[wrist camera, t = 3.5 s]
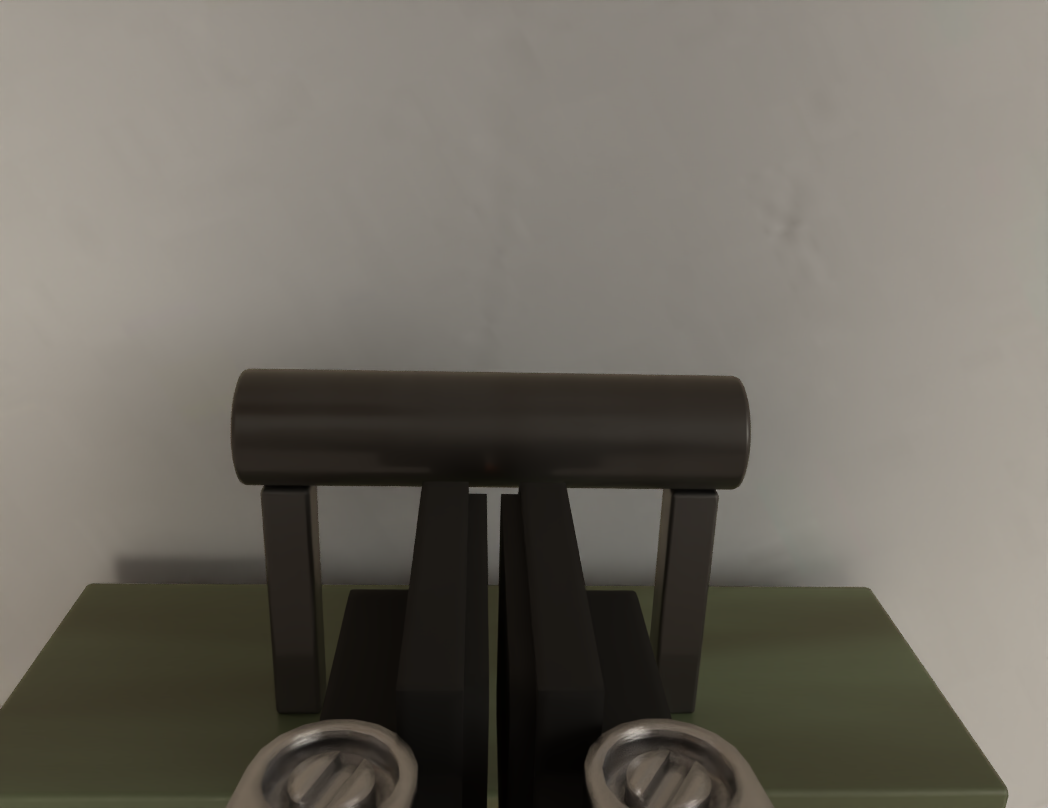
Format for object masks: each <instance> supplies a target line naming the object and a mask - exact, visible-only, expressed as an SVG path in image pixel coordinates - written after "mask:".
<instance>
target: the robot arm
mask: <svg viewBox="0 0 1048 808" xmlns="http://www.w3.org/2000/svg"><path fill="white" fill-rule="evenodd" d="M496 727H497V770H498V808H774V806H773V804H772V803H771V801H770V799H769V798H768V796H767V794H766V792H765V791H764V789H763V787H762V786H761V784H760V782H759V780H758V779H757V777H756V775H755V774H754V772H753V770H752V768H751V767H750V765H749V763H748V762H747V761H746V760H745V759H744V757H743V756H742V755H741V754H740V753H739V751H738V750H737V749H736V748H735V747H734V746H733V745H731V744H730V743H728V742H727V741H726V740H724V739H723V738H721V737H720V736H719V735H717V734H716V733H713V732H711V731H709V730H706V729H704V728H701V727H699V726H697V725H694V724H691V723H686V722H681V721H676V720H672V718H671V714H670V710H669V707H668V703H667V700H666V696H665V692H664V689H663V685H662V682H661V678H660V675H659V671H658V667H657V664H656V660H655V657H654V653H653V649H652V646H651V642H650V639H649V635H648V631H647V628H646V624H645V621H644V617H643V614H642V610H641V606H640V603H639V599H638V597H637V594H636V592H635V591H633V590H586V588H585V583H584V578H583V572H582V567H581V562H580V557H579V551H578V546H577V541H576V535H575V530H574V525H573V519H572V514H571V509H570V504H569V498H568V493H567V488H566V484H565V483H549V482H520V483H519V492H518V494H501V516H500V557H499V599H498V640H497V682H496ZM488 738H489V626H488V553H487V494H469V482H447V481H423V483H422V490H421V498H420V506H419V514H418V521H417V529H416V537H415V545H414V553H413V560H412V568H411V576H410V584H409V589H352V590H350V593H349V596H348V600H347V604H346V608H345V613H344V617H343V621H342V625H341V630H340V634H339V638H338V642H337V647H336V651H335V655H334V660H333V664H332V668H331V672H330V677H329V681H328V685H327V689H326V694H325V698H324V702H323V707H322V711H321V715H320V719H319V722H315V723H310V724H305V725H302V726H300V727H298V728H295V729H293V730H290V731H288V732H286V733H283V734H281V735H280V736H278V737H277V738H275V739H274V740H273V741H271V742H270V743H269V744H267V745H266V746H264V747H263V748H262V749H261V750H260V751H259V752H258V754H257V755H256V756H255V758H254V759H253V760H252V761H251V763H250V764H249V765H248V767H247V769H246V770H245V772H244V774H243V776H242V778H241V780H240V782H239V783H238V785H237V787H236V789H235V791H234V793H233V795H232V796H231V798H230V800H229V802H228V804H227V806H226V808H487V785H488Z"/></svg>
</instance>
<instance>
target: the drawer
mask: <svg viewBox="0 0 1048 808" xmlns="http://www.w3.org/2000/svg"><path fill="white" fill-rule="evenodd" d="M750 442H751V421H750V410H749V404H748V399H747V395H746V391H745V388H744V386H743V383H742V382H741V380H740V379H738V378H737V377H734V376H707V375H641V374H575V373H509V372H443V371H377V370H311V369H247V370H244V371H243V372H242V373H241V375H240V377H239V379H238V382H237V384H236V388H235V392H234V397H233V403H232V411H231V450H232V458H233V463H234V468H235V471H236V474H237V477H238V479H239V480H240V482H242V483H243V484H246V485H264V486H263V488H262V491H261V506H262V520H263V534H264V548H265V562H266V576H267V584H99V583H93V584H89V585H87V586H86V588H85V589H84V590H83V592H82V593H81V595H80V596H79V598H78V599H77V600H76V602H75V603H74V605H73V606H72V608H71V609H70V610H69V612H68V613H67V615H66V616H65V618H64V619H63V621H62V622H61V623H60V625H59V626H58V628H57V629H56V631H55V632H54V633H53V635H52V636H51V638H50V639H49V641H48V642H47V643H46V645H45V646H44V648H43V649H42V651H41V652H40V653H39V655H38V656H37V658H36V659H35V661H34V662H33V663H32V665H31V666H30V668H29V669H28V671H27V672H26V673H25V675H24V676H23V678H22V679H21V681H20V682H19V683H18V685H17V686H16V688H15V689H14V691H13V692H12V694H11V695H10V696H9V698H8V699H7V701H6V702H5V704H4V705H3V706H2V708H1V709H0V808H226V806H227V804H228V802H229V800H230V798H231V796H232V795H233V793H234V791H235V789H236V787H237V785H238V783H239V782H240V780H241V778H242V776H243V774H244V772H245V770H246V769H247V767H248V765H249V764H250V763H251V761H252V760H253V759H254V758H255V756H256V755H257V754H258V752H259V751H260V750H261V749H262V748H263V747H264V746H266V745H267V744H269V743H270V742H271V741H273V740H274V739H275V738H277V737H278V736H280V735H281V734H283V733H286V732H288V731H290V730H293V729H295V728H298V727H300V726H302V725H305V724H310V723H315V722H319V719H320V715H321V711H322V707H323V702H324V698H325V694H326V689H327V685H328V681H329V677H330V672H331V668H332V664H333V660H334V655H335V651H336V647H337V642H338V638H339V634H340V630H341V625H342V621H343V617H344V613H345V608H346V604H347V600H348V596H349V593H350V590H352V589H409V585H322V583H321V562H320V542H319V522H318V501H317V486H402V487H422V483H423V481H447V482H469V487H508V488H519V483H520V482H549V483H565V484H566V488H613V489H663V496H662V508H661V519H660V530H659V541H658V552H657V564H656V575H655V586H585V588H586V590H633V591H635V592H636V594H637V597H638V599H639V603H640V606H641V610H642V614H643V617H644V621H645V624H646V628H647V631H648V635H649V639H650V642H651V646H652V649H653V653H654V657H655V660H656V664H657V667H658V671H659V675H660V678H661V682H662V685H663V689H664V692H665V696H666V700H667V703H668V707H669V710H670V714H671V718H672V720H676V721H681V722H686V723H691V724H694V725H697V726H699V727H701V728H704V729H706V730H709V731H711V732H713V733H716V734H717V735H719V736H720V737H721V738H723V739H724V740H726V741H727V742H728V743H730V744H731V745H733V746H734V747H735V748H736V749H737V750H738V751H739V753H740V754H741V755H742V756H743V757H744V759H745V760H746V761H747V762H748V763H749V765H750V767H751V768H752V770H753V772H754V774H755V775H756V777H757V779H758V780H759V782H760V784H761V786H762V787H763V789H764V791H765V792H766V794H767V796H768V798H769V799H770V801H771V803H772V804H773V806H774V808H1005V807H1006V803H1007V799H1008V790H1007V787H1006V785H1005V784H1004V783H1003V781H1002V780H1001V778H1000V777H999V775H998V774H997V772H996V771H995V769H994V768H993V767H992V765H991V764H990V762H989V761H988V759H987V758H986V756H985V755H984V753H983V752H982V751H981V749H980V748H979V746H978V745H977V743H976V742H975V740H974V739H973V737H972V736H971V735H970V733H969V732H968V730H967V729H966V727H965V726H964V724H963V723H962V721H961V720H960V719H959V717H958V716H957V714H956V713H955V711H954V710H953V708H952V707H951V706H950V704H949V703H948V701H947V700H946V698H945V697H944V695H943V694H942V692H941V691H940V690H939V688H938V687H937V685H936V684H935V682H934V681H933V679H932V678H931V676H930V675H929V674H928V672H927V671H926V669H925V668H924V666H923V665H922V663H921V662H920V660H919V659H918V658H917V656H916V655H915V653H914V652H913V650H912V649H911V647H910V646H909V644H908V643H907V642H906V640H905V639H904V637H903V636H902V634H901V633H900V631H899V630H898V628H897V627H896V626H895V624H894V623H893V621H892V620H891V618H890V617H889V615H888V614H887V612H886V611H885V610H884V608H883V607H882V605H881V604H880V602H879V601H878V599H877V598H876V596H875V595H874V594H873V592H872V591H871V589H869V588H866V587H744V586H709V580H710V571H711V562H712V553H713V544H714V535H715V526H716V517H717V508H718V499H719V496H718V493H717V491H716V489H719V490H732V489H735V488H737V487H739V486H740V484H741V483H742V481H743V479H744V476H745V473H746V469H747V465H748V460H749V454H750ZM498 599H499V585H488V626H489V738H488V785H487V808H498V770H497V727H496V682H497V640H498Z"/></svg>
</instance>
